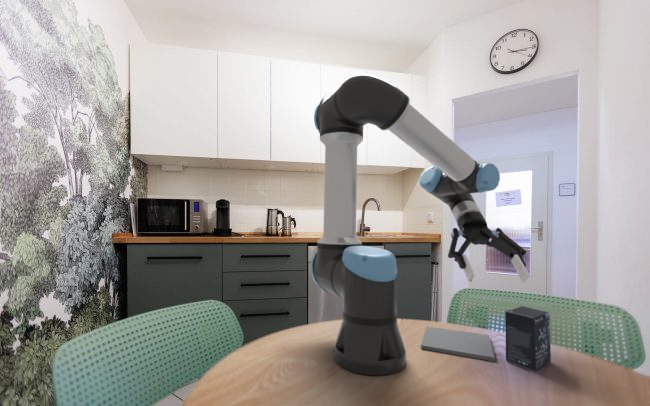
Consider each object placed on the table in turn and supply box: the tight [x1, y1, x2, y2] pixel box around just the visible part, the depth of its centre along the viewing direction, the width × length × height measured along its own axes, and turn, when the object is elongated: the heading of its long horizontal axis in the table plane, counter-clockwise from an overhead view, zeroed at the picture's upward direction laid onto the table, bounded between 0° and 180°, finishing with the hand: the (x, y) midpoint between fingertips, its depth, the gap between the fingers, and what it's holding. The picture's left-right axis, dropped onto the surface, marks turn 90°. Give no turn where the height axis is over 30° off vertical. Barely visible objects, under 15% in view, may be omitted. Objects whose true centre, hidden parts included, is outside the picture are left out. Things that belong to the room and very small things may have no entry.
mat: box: [420, 326, 496, 362], centre depth 73 cm, size 15×14×1 cm
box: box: [504, 305, 552, 372], centre depth 64 cm, size 8×6×11 cm
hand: (498, 278), depth 75 cm, fingers open, 13 cm apart
